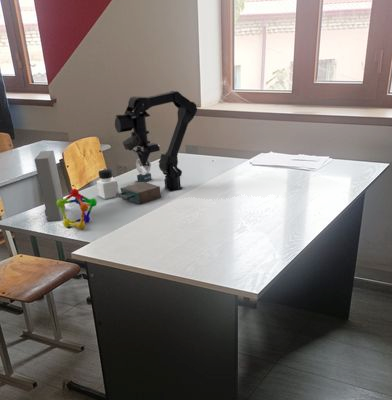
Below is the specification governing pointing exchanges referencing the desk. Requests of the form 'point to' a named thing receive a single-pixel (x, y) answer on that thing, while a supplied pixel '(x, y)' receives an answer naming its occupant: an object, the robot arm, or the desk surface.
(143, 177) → the snow globe
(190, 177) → the desk surface
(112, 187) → the medicine bottle
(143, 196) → the cabinet
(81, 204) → the educational toy
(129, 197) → the drawer
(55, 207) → the tall grey pillar
